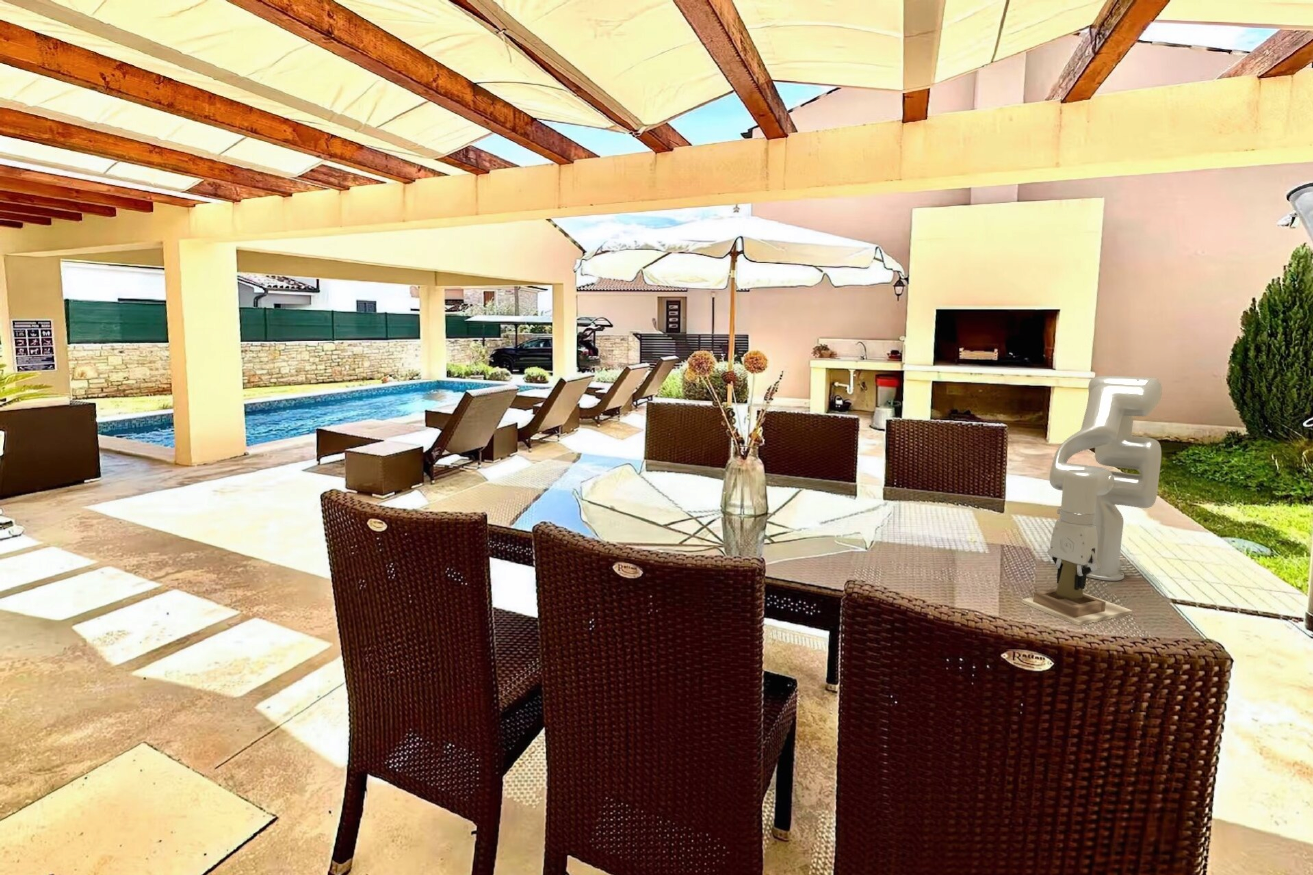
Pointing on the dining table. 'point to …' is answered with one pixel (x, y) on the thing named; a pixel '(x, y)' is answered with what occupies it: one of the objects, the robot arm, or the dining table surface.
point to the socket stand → (1075, 607)
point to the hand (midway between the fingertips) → (1070, 585)
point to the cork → (1068, 581)
